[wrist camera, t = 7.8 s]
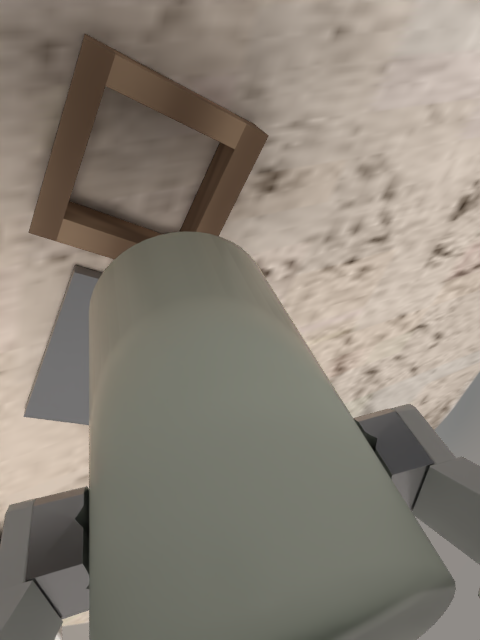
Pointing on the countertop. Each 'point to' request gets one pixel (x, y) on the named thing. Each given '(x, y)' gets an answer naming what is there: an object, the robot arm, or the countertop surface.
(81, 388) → the charcoal tile
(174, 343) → the pale green mug
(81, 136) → the walnut holder
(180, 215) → the countertop surface
